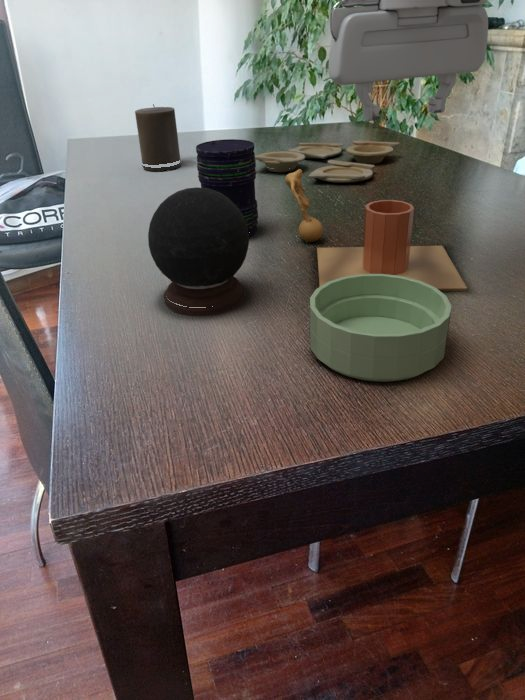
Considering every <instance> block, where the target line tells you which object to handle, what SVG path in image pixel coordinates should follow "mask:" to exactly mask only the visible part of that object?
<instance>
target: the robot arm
mask: <svg viewBox="0 0 525 700" xmlns="http://www.w3.org/2000/svg"><path fill="white" fill-rule="evenodd" d="M487 2H488V0H338V1H337V2H336V3H335V4H334V5H333V7H332V8H331V11H330V13H329V32H330V35H331V39H330V45H329V54H328V68H327V69H328V70H327V72H328V76H329V78H330V80H331V81H332V82H333V83H334V84H336V85H341V86H347V85H355V86H354V89H355V90H354V91H355V94H356V95H357V98H358V100H359V101H360V103H361V105H362V119H363V121H365V122H373V121H379V119H380V114H379V113H380V109H381V107H380V105H379V104H376V103H375V104H374V102H373V100H372V98H371V96H370V93H372V92H373V91H374V89H373V88H374V83H377V82H386V81H388V82H389V81H397V80H406V79H416V78H425V77H426V78H427V77H435V76H436V77H437V81H436V82H437V83H439V86H438V88H437V90H436V92H435V95H434V96H433V97H428V106H427V112H428V113H429V114H443V113H444V112H445V110H446V99H448V97H449V95H450V93H451V92H452V90H453V88H454V86H456V82H457V74H466V73H475V72H478V71H479V70H480V68H481V67H482V65H483V64H484V63H485V60H486V55H487V47H488V38H489V37H488V35H489V16H488V13H487V10H486V9H485V8H484V7H483V6H482V5H484V4H486V3H487ZM340 6H341V7H340Z"/></svg>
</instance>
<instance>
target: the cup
mask: <svg viewBox="0 0 525 700" xmlns="http://www.w3.org/2000/svg"><path fill="white" fill-rule="evenodd" d="M364 206H365V207H364V223H363V224H364V225H363V243H362V247H363V258H362V265H363V269H365V270H366V271H368V272H370V273H374V274H388V275H396V274H399V273H403V272H405V271H406V270H407V269H408V265H409V255H410V246H412V236H413V235H412V233H413V223H414V215H415V214H414V213H415V207H414V206H413V204H411V203H410V202H406V201H403V200H398V199H397V200H396V199H380V200H375V201H370V202H368V203H367V204H365V205H364Z"/></svg>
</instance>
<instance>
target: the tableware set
mask: <svg viewBox="0 0 525 700" xmlns="http://www.w3.org/2000/svg"><path fill="white" fill-rule="evenodd" d="M352 144H353V145H350V146H348V147H346V149H345V152H346V154H348V155H352V156H353V158H354V160H355V162H352V161H344V160H335V159H334V160H333V159H329V158H332V157H335V156H338V155H341V153H342V149H341V148H340V147H343V146H344V145H345V143H344V142H299V143H298V146H297V147H294V148H290V149H287V151H286V150H285V151H284V150H283V151H280V150H279V151H269V152H263V153H261V154H260V153H259V154H258V155H257V154H255V160H257V161H258V162H260V163H262V164H264V165H265V167H266V166H267V167H269V168H267V167H266V168H267V171H269V172H273V173H287V172H288V173H289V172H292V171H294V170H295V169H296V168H297V166H298V163H300V162H303V161H304V160H305V159H311V160H318V159H319V160H320V159H322V160H325V159H329V160H327V165H326V166H322V167H318V168H316V169H314V171H311V172H309V175H308V178H313V179H317V180H321V181H324V182H327V183H335V184H348V183H356V182H362V181H367V180H369V179H371V178H372V177H373V175H374V172H373V170H374V169H375V168H376V166H375V164H379V163H381V162H383V160H384V159H385V157H386V156H388V155H390V154H392V153H393V152H394V148H393V147H399V146H400V144H401V143H400V142H398V141H371V140H364V139H358V140H357V139H356V140H353V141H352ZM270 168H274V169H270ZM289 168H290V169H289Z"/></svg>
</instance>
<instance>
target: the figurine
mask: <svg viewBox="0 0 525 700" xmlns="http://www.w3.org/2000/svg"><path fill="white" fill-rule="evenodd" d="M303 176H304V173H303V170H302V169H301V168H298V169H297V170H295V171H293V172H288V174H286V176H285V183H286V184H287V186H288V188H289V189H290V191H291V192H292V194H293V195H294V198H295V199H296V201H297V203H298V206H299V208H301V210H300V212H301V213H300V214H301V216H302V217H303V220H301V222H300V224H299V227H298V234H299V237H300V238H301V239H302V240H303V241H305V242H307V243H314V242H316V241H318V240H319V239H320V238H321V237H322V235H323V225H322V223H321V221H319V220H318V219H317V218H314V217H313V216H312V215H309V214H308V213H307V210H308V209H309V208H310V202H311V201H310V199H309V198H308V197H307V196H306V195H305V194H306V193H307V191H306V189H305V187H303V185H302V184H303V183H302V177H303Z"/></svg>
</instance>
